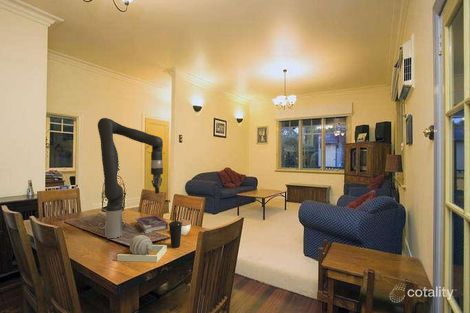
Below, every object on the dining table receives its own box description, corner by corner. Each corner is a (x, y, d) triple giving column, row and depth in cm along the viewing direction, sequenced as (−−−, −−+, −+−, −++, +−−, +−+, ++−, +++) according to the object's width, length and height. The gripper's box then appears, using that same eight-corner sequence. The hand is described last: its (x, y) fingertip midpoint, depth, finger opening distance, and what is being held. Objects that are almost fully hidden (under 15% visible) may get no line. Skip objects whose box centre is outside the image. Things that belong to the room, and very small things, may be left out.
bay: (117, 260, 126) (117, 254, 126) (130, 249, 141) (130, 244, 141) (157, 262, 125) (157, 256, 125) (166, 250, 139) (166, 245, 139)
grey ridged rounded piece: (140, 249, 140) (140, 230, 140) (160, 257, 131) (160, 236, 130) (123, 256, 132) (122, 235, 131) (142, 265, 122) (142, 242, 122)
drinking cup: (169, 244, 149) (169, 210, 148) (183, 244, 149) (183, 210, 149) (167, 249, 141) (167, 214, 140) (181, 249, 142) (181, 213, 141)
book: (135, 224, 189) (135, 218, 189) (156, 221, 198) (156, 214, 198) (144, 234, 168) (144, 226, 168) (168, 229, 177) (168, 222, 177)
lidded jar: (187, 236, 162) (187, 222, 162) (171, 235, 164) (171, 221, 164) (193, 231, 172) (193, 217, 172) (178, 230, 174) (178, 216, 174)
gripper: (155, 166, 171) (155, 191, 172) (147, 167, 158) (147, 195, 158) (166, 166, 171) (166, 191, 171) (158, 167, 157) (159, 195, 158)
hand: (157, 193), depth 165 cm, fingers closed
